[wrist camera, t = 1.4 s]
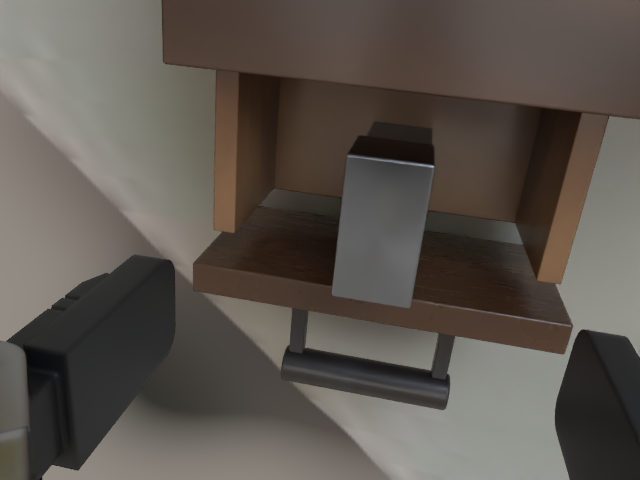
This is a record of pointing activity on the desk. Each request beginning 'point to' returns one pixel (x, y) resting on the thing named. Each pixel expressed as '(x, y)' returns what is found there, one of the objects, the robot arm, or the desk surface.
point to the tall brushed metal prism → (383, 214)
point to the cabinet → (425, 47)
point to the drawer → (437, 248)
